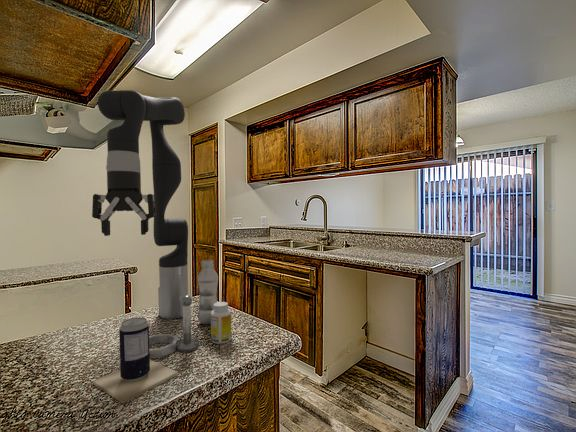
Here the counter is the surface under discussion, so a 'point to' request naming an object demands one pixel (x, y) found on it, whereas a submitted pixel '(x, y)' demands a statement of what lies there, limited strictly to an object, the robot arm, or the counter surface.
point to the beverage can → (134, 349)
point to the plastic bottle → (207, 291)
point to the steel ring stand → (174, 345)
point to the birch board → (133, 389)
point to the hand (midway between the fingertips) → (125, 235)
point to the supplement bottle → (220, 323)
